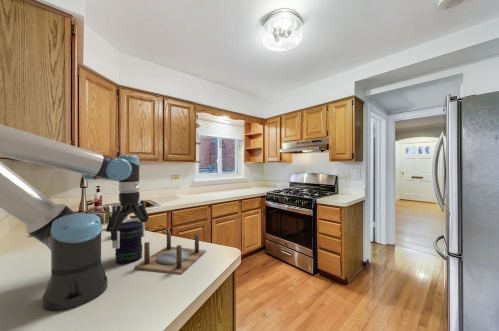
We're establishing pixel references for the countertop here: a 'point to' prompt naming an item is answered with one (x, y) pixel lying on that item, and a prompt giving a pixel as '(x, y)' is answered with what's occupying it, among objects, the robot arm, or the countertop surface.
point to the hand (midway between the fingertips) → (129, 241)
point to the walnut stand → (170, 257)
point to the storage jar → (129, 243)
